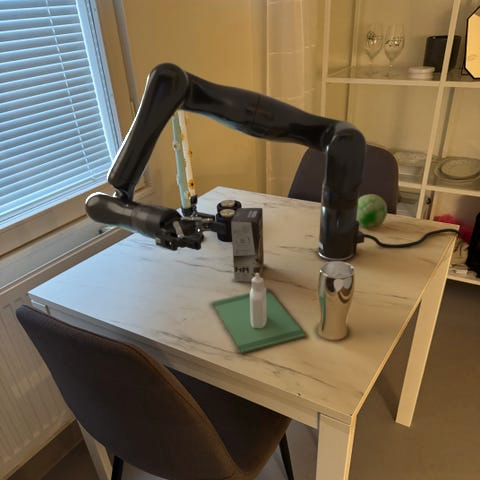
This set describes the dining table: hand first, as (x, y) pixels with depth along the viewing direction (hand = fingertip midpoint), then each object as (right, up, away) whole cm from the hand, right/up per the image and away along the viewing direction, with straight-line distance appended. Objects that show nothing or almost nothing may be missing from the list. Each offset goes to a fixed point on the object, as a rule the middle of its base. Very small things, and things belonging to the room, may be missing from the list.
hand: (213, 237), depth 95 cm
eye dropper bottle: (+10, -18, +5) cm, 21 cm away
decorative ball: (+44, +10, +43) cm, 62 cm away
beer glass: (+25, -20, +2) cm, 32 cm away
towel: (+9, -17, +7) cm, 21 cm away
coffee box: (+8, -5, +24) cm, 26 cm away
